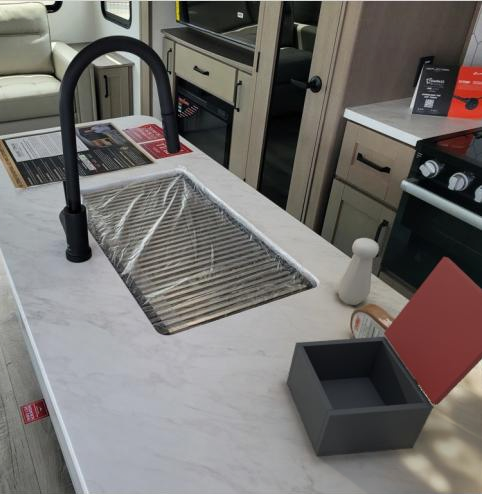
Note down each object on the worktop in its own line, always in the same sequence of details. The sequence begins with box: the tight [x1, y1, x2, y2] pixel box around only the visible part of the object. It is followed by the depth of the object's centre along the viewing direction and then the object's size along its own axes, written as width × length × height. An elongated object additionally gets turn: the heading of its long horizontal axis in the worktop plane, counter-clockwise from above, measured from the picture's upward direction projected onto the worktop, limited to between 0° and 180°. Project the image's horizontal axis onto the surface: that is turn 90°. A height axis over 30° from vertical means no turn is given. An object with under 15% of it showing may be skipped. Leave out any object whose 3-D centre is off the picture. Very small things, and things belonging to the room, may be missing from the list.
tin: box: [349, 303, 420, 386], centre depth 76 cm, size 15×3×8 cm, turn 22°
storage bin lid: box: [384, 256, 482, 406], centre depth 61 cm, size 14×13×1 cm
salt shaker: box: [336, 237, 380, 306], centre depth 88 cm, size 6×6×13 cm
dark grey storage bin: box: [286, 337, 434, 457], centre depth 67 cm, size 14×13×9 cm
